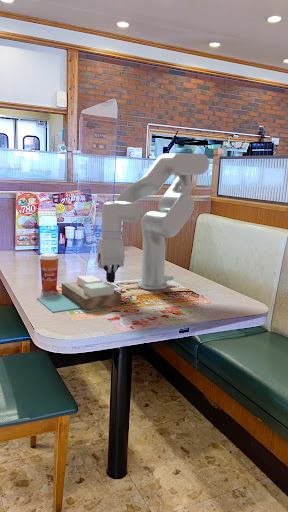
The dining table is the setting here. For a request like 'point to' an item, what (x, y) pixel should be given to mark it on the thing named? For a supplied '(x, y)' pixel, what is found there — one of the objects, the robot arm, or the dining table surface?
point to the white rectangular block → (87, 280)
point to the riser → (85, 301)
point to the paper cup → (49, 271)
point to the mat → (58, 303)
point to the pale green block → (98, 289)
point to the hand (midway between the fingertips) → (110, 281)
